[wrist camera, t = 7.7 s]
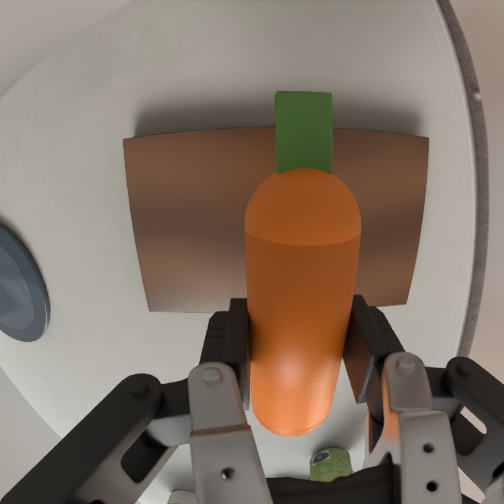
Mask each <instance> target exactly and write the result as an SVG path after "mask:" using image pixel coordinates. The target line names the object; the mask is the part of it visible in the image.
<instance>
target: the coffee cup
mask: <svg viewBox="0 0 504 504" xmlns="http://www.w3.org/2000/svg"><path fill="white" fill-rule="evenodd" d="M167 504H197V499H196V493H195V492H191V491H185V490H175V491H173V492H172V494H171V495H170V497H169V500H168V503H167Z"/></svg>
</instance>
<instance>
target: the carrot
mask: <svg viewBox="0 0 504 504" xmlns="http://www.w3.org/2000/svg"><path fill="white" fill-rule="evenodd" d="M275 131H276V170H277V172H275V173H273V174H271V175H270V176H268V177H267V178H266V179H265V180H264V181H262V182H261V183H260V185H259V186H258V187H257V188H256V189H255V191H254V192H253V194H252V196H251V198H250V200H249V202H248V205H247V208H246V212H245V219H244V236H245V262H246V287H247V309H248V312H249V329H250V353H251V371H250V378H251V399H252V407H253V411H254V414H255V416H256V417H257V419H258V420H259V422H260V423H261V424H262V425H263V426H264V427H265V428H266V429H268V430H269V431H271V432H273V433H275V434H278V435H281V436H291V437H293V436H300V435H303V434H306V433H309V432H310V431H312V430H314V429H315V428H317V427H318V426H319V425H320V424H321V423H322V422H323V421H324V419H325V418H326V417H327V415H328V412H329V410H330V408H331V404H332V400H333V396H334V392H335V388H336V384H337V379H338V375H339V370H340V366H341V361H342V356H343V351H344V346H345V341H346V336H347V330H348V325H349V319H350V313H351V307H352V300H353V294H354V287H355V280H356V272H357V264H358V256H359V247H360V237H361V216H360V211H359V207H358V204H357V202H356V200H355V197H354V195H353V194H352V192H351V191H350V190H349V188H348V187H347V186H346V185H345V184H344V183H343V182H342V181H341V180H340V179H339V178H338V177H337V176H335V175H333V174H331V173H332V144H333V128H332V94H331V93H324V92H304V91H277V92H276V93H275Z"/></svg>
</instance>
